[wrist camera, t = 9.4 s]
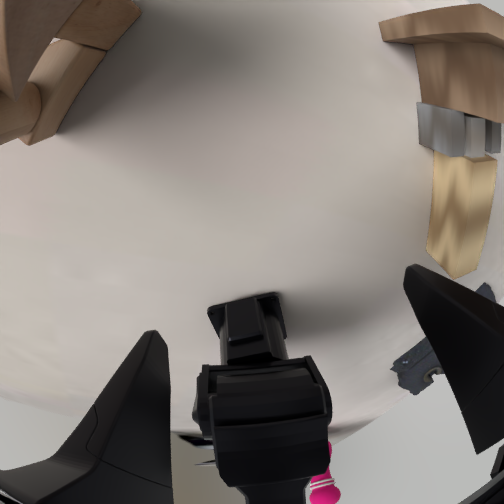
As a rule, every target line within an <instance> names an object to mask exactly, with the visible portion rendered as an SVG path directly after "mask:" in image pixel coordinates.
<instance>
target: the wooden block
mask: <svg viewBox="0 0 504 504" xmlns="http://www.w3.org/2000/svg"><path fill="white" fill-rule="evenodd" d="M141 13H142V11H141V9H140V8H139V7H138V6H137V5H135V4H134V3H133V2H132V1H131V0H0V145H2V144H4V143H6V142H9V141H11V140H14V139H16V138H19V139H20V140H21V141H23V142H24V143H25V144H26V145H29V146H30V145H33V144H35V143H37V142H40V141H42V140H44V139H47V138H49V137H52V136H54V135H55V133H56V131H57V129H58V127H59V125H60V124H61V122H62V120H63V118H64V116H65V115H66V113H67V111H68V109H69V108H70V106H71V104H72V103H73V101H74V99H75V98H76V96H77V95H78V93H79V92H80V90H81V88H82V87H83V85H84V84H85V82H86V81H87V79H88V78H89V77H90V75H91V74H92V72H93V71H94V70H95V68H96V67H97V65H98V64H99V63H100V61H101V60H102V59H103V57H104V56H105V54H106V52H105V50H109V49H110V48H112V46H113V45H114V44H115V43H116V42H117V40H118V39H119V38H120V37H121V36H122V35H123V33H124V32H125V31H126V30H127V29H128V28H129V27H130V26H131V25H132V23H133V22H134V21H135V20H136V19H137V18H138V17H139V16H140V15H141ZM53 38H59V39H61V40H59V41H56V42H54V43H52V44H50V42H51V41H52V39H53ZM49 44H50V45H49Z"/></svg>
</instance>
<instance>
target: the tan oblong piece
mask: <svg viewBox="0 0 504 504" xmlns="http://www.w3.org/2000/svg"><path fill="white" fill-rule="evenodd" d="M464 124H465V147H464V156H459V157H449V156H447V155H445V154H442V153H440V152H438V151H436V150H434V172H433V192H432V205H431V215H430V224H429V232H428V239H427V246H426V251H427V252H428V253H429V254H430V255H431V256H432V257H433V258H434V259H435V261H436V262H437V263H438V264H439V265H440V266H441V267H442V268H443V269H444V270H445V271H446V272H447V273H448V274H449V276H450V277H451V278H452V279H453V280H454V279H457V278H459V277H461V276H463V275H465V274H468V273H470V272H472V271H474V270H476V269H477V266H478V262H479V259H480V255H481V252H482V248H483V244H484V240H485V236H486V232H487V227H488V223H489V218H490V213H491V207H492V201H493V195H494V188H495V180H496V171H497V160H496V159H494V158H492V157H490V156H488V155H486V154H485V118H482V117H479V116H475V115H472V114H468V113H465V112H464Z"/></svg>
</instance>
